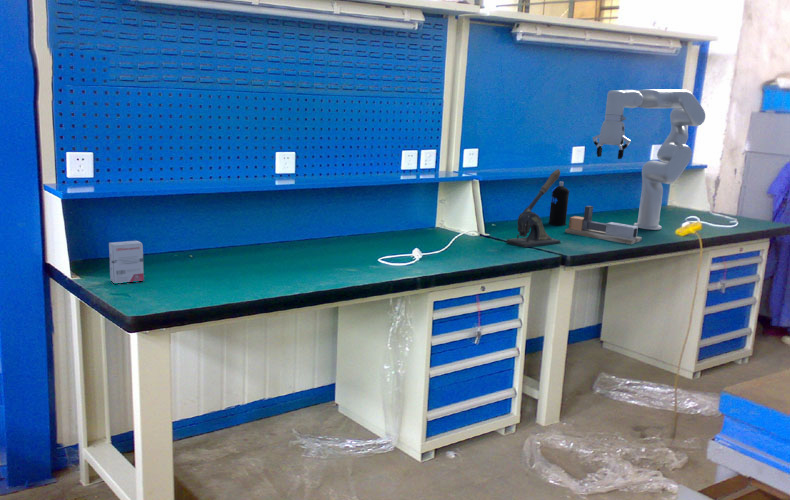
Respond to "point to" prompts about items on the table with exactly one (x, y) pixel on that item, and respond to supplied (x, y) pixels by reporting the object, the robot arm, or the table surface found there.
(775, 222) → the table surface
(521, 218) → the embossing press
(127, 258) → the ink box
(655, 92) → the robot arm
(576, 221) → the socket
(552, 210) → the aerosol can
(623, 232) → the pale blue rectangular box
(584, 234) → the base board
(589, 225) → the grey bar
